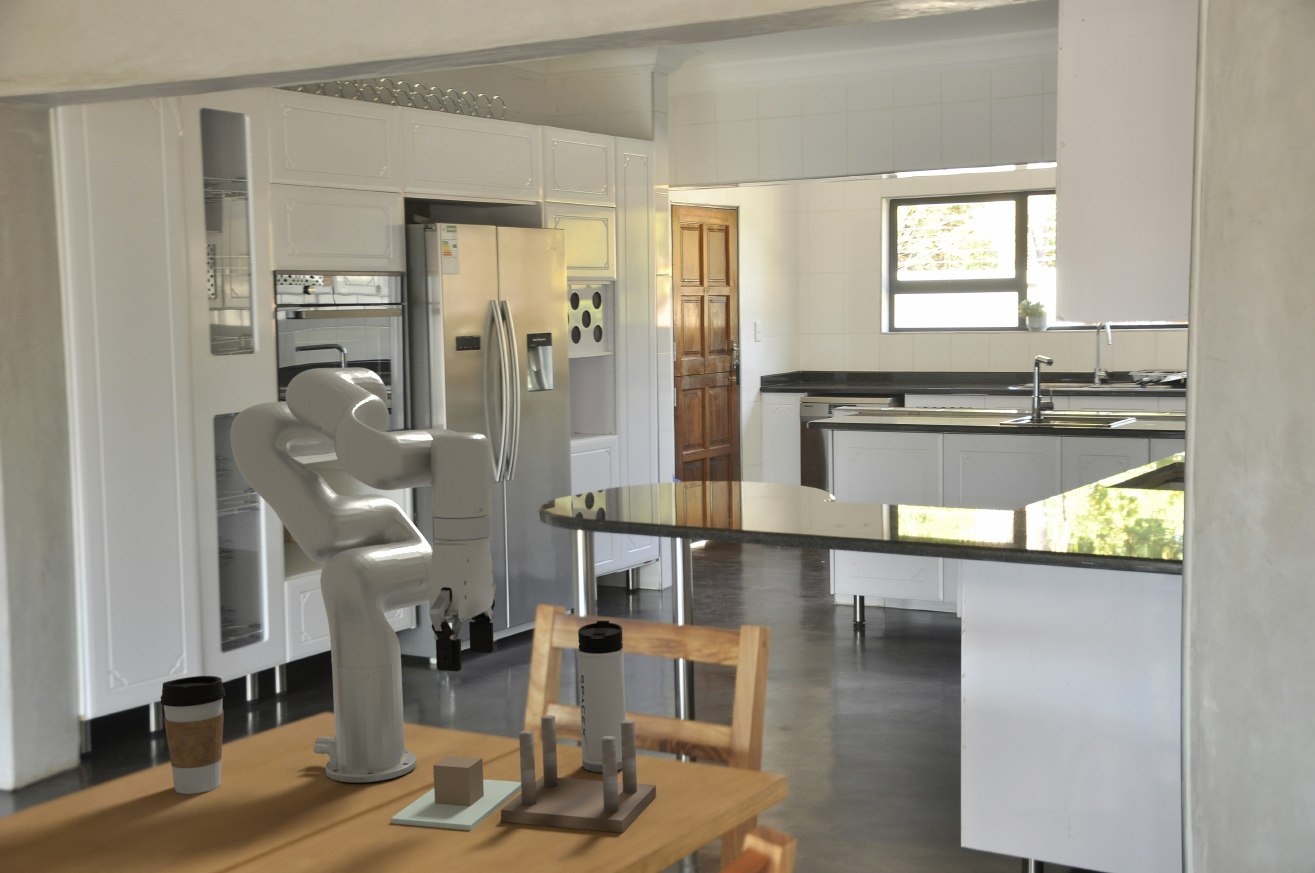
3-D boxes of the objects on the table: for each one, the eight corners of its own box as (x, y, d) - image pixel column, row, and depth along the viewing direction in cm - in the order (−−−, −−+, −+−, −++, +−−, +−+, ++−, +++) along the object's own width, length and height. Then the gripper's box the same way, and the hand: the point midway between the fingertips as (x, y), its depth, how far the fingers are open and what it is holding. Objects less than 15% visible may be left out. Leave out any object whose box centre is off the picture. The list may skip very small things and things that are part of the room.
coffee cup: (151, 793, 169) (145, 684, 169) (195, 774, 177) (190, 670, 176) (199, 799, 166) (194, 689, 165) (243, 779, 174) (237, 673, 173)
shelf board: (471, 834, 152) (469, 784, 152) (391, 827, 156) (388, 778, 155) (523, 790, 168) (522, 745, 167) (449, 785, 171) (447, 740, 170)
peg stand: (501, 821, 155) (497, 738, 154) (542, 787, 167) (539, 709, 167) (622, 832, 150) (619, 746, 149) (656, 796, 162) (653, 716, 162)
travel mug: (629, 757, 178) (625, 619, 177) (624, 772, 172) (619, 629, 171) (586, 757, 179) (581, 620, 178) (579, 772, 173) (574, 629, 171)
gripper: (464, 519, 169) (468, 644, 170) (403, 538, 152) (407, 676, 154) (516, 520, 167) (519, 646, 168) (459, 540, 150) (463, 679, 151)
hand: (466, 660), depth 161 cm, fingers open, 9 cm apart
